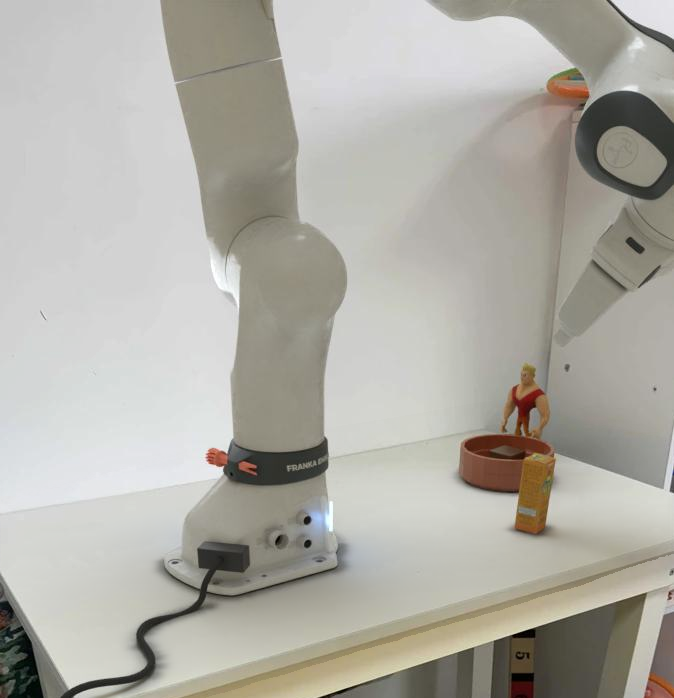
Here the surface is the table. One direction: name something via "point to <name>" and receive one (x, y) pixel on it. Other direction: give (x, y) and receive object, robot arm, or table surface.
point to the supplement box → (534, 493)
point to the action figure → (526, 404)
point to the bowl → (497, 460)
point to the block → (507, 453)
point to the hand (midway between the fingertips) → (576, 325)
